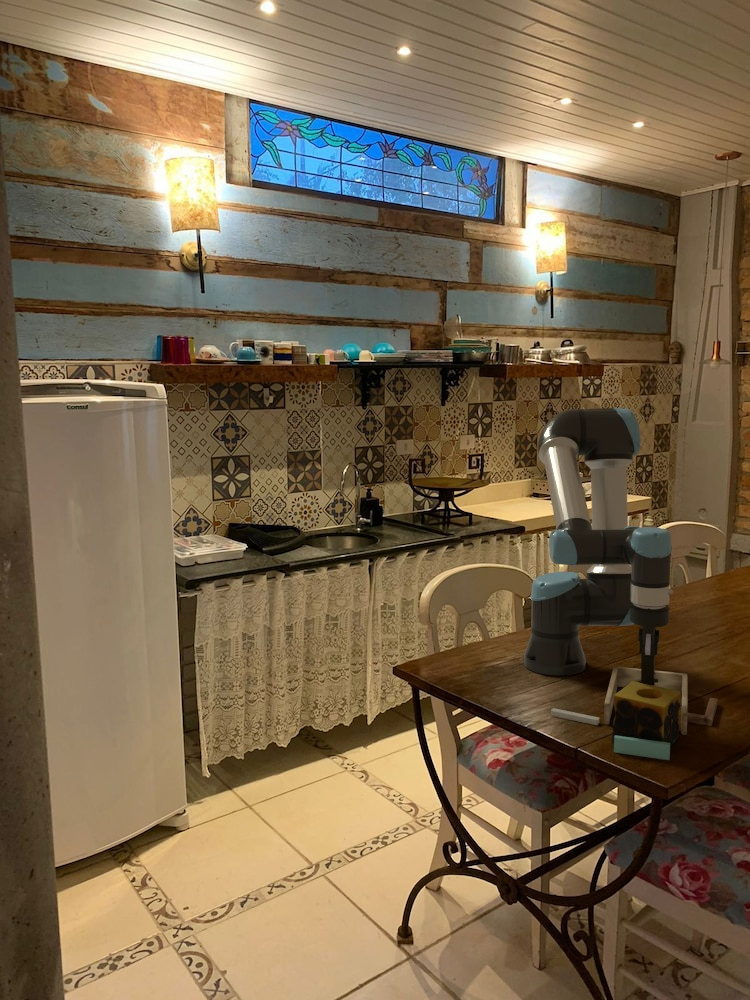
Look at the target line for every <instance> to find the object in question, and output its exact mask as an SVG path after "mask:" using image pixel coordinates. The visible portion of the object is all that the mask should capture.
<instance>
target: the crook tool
mask: <svg viewBox="0 0 750 1000" xmlns="http://www.w3.org/2000/svg"><path fill="white" fill-rule="evenodd" d="M718 700H719V699H718V698H715V697H710V698H709V700H708V703H707V707H706V709H705V713H704V714H703V715H702V714H698V713H692V712H687V723H691V724H692V723H693V724H697V725H704V726H709V727H712V724H713V722H714V717H715V714H716V711H717V707H718Z"/></svg>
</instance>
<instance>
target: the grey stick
mask: <svg viewBox="0 0 750 1000" xmlns="http://www.w3.org/2000/svg"><path fill="white" fill-rule="evenodd" d="M550 716H551V717H555V718H560V719H564V720H569V721H574V722H579V723H583V724H589V725H593V726H598V725H599V724H600V718H601V717H598V716H593V715H590V714H589V715H588V714H584V713H579V712H573V711H569V710H565V709H560V708H555V707H552V708H551V710H550Z"/></svg>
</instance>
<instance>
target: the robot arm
mask: <svg viewBox="0 0 750 1000" xmlns="http://www.w3.org/2000/svg"><path fill="white" fill-rule="evenodd" d="M640 450H641V431H640V425H639V422H638V420H637V417H636V415H635V414H634V412H633V411H632V410H631V409H629V408H620V407H619V408H617V407H609V408H608V407H607V408H606V407H605V408H601V407H599V408H570V409H566V410H563V411H560V412H559V413H556V414H555V415H554V416H552V418H550V419H549V420H548V422H547V423H546V424H545V425H544V426H543V428H542V430H541V432H540V434H539V436H538V440H537V452H538V458H539V460H540V462H541V463H542V464H543V465H544V467H545V468H544V469H545V473H546V479H547V483H548V484H547V485H548V491H549V496H550V500H551V507H552V511H553V517H554V522H555V528H556V529H555V530H554V529H553V530H552V531H550V535H549V540H548V544H549V546H548V548H549V556H550V560H551V561H552V563H554V565H555V564H556V565H561V566H562V565H565V566H575V565H577V566H579V565H580V566H581V565H582V566H583V565H584V566H585V565H591V566H590V567H589V568H588V569H587V570H586V578H581V576H580V575H579V573H576V572H573V571H555V572H549V573H544V574H541V575H539V576H537V577H536V578H534V580H533V581H532V584H531V594H530V599H531V616H530V617H531V622H530V624H531V625H530V628H531V629H530V631H531V632H530V633H531V634H530V636H529V639H528V643H527V646H526V648H525V650H524V655H523V665H524V667H525V668H527V670H529V671H532V672H534V673H537V674H541V675H546V676H547V675H548V676H558V677H559V676H561V677H562V676H572V675H578V674H579V673H581V672H583V671H585V669H586V655H585V653H584V652H585V651H584V650H583V647H582V643H581V641H580V637H579V636H580V633H579V632H580V631H579V630H580V629H579V628H580V627H585V626H586V627H595V626H596V627H604V626H605V627H613V626H614V627H616V628H617V627H619V628H620V627H621V626H622V627H623V626H633V625H636V626H641V627H642V628H639V629H638V638H637V639H638V642H639V654H640V655H641V658H640V659H641V661H640V662H641V663H640V664H641V665H640V669H641V681H639V680H638V682H639V683H643V684H648V685H653V686H655V682H656V683H658V679H655V678H654V675H655V671H656V669H655V668H656V667H655V666H656V663H655V662H656V656H657V655H658V648H659V647H658V646H659V645H658V644H659V643H660V642H659V641H660V629H659V630H658V629H656V628H662V627H665V626H667V625H668V624H669V622H670V606H669V604H670V595H673V594H674V590H673V589H671V588H670V586H671V568H672V567H671V566H672V564H671V563H672V561H671V560H672V550H673V546H672V535H671V533H670V531H669V530H668V529H666V528H662V527H657V526H655V527H653V526H644V527H640V526H635V525H629V524H628V523H629V520H628V517H629V516H628V487H627V486H628V483H627V482H628V479H627V475H628V474H627V472H628V471H627V469H628V467H629V466H630V465H631V464H632V463H633V462H634V460H633V457H634V456H636V455H638V454H639V452H640ZM578 456H584V464H585V465H586V466H587V467H588V468H589V469H590V482H591V483H590V491H591V492H590V494H591V495H590V496H591V518H590V514H589V508H588V505H587V500H586V496H585V491H584V487H583V486H584V485H583V482H582V479H581V478H582V477H581V472H580V469H579V464H578Z"/></svg>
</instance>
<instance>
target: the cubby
mask: <svg viewBox="0 0 750 1000" xmlns="http://www.w3.org/2000/svg"><path fill="white" fill-rule="evenodd" d="M654 678H655V679H658V683H656V682H655V686H658V687H662V688H667V689H671V690H676V691H680V692H681V723H680V724H681V725H680V726H681V727H680V728H681V729H680V731H681V732H680V733H681V735H686V736H687V734H688V722H687V714H688V673H681V672H672V671H663V670H655V675H654ZM638 680H639V681H641V668H636V667H634V668H633V667H628V666H627V667H626V666H625V667H624V666H613V668H612V672H611V677H610V679H609V684H608V688H607V692H606V695H605V701H604V706H603V707H604V708H603V710H604V711H603V713H604V714H603V725H610V722H611V717H612V712H613V709H614V708H613V707H614V695H615V694H616V693H617V691H618V687H620V688H624V687H626V686H627V685H629V683H630V682H631V681H635V682H638Z"/></svg>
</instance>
